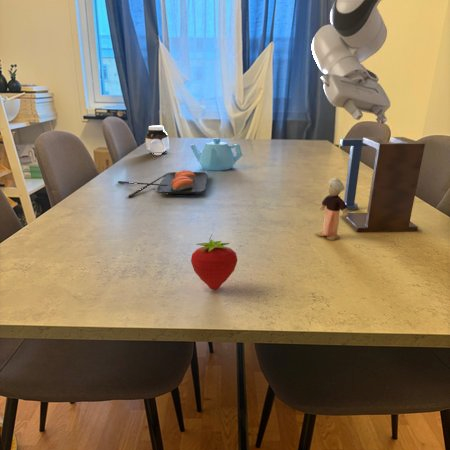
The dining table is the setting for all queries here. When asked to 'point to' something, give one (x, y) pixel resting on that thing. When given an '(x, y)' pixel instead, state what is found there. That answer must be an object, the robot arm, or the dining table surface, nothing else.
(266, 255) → the dining table surface
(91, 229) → the dining table surface
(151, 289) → the dining table surface
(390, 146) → the stand
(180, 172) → the sushi plate
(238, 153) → the teapot
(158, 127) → the spread jar
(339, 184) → the grandmother figurine
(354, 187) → the peg
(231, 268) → the strawberry
